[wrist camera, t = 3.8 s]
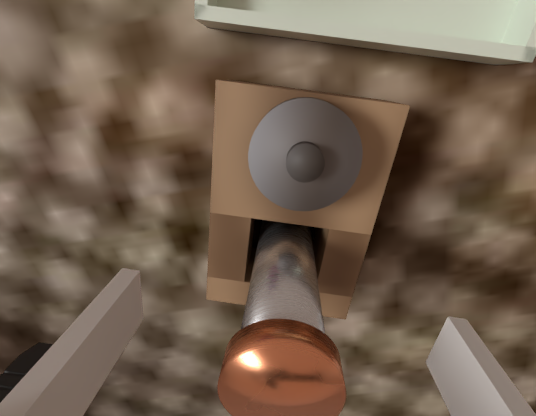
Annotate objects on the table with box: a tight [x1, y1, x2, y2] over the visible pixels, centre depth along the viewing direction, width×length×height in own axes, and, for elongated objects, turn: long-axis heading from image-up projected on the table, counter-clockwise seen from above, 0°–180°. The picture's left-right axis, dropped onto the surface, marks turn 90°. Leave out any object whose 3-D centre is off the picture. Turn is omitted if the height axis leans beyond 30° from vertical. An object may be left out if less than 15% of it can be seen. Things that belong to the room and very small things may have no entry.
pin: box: [218, 220, 346, 416], centre depth 15 cm, size 4×4×12 cm
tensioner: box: [206, 80, 410, 319], centre depth 17 cm, size 9×13×7 cm
